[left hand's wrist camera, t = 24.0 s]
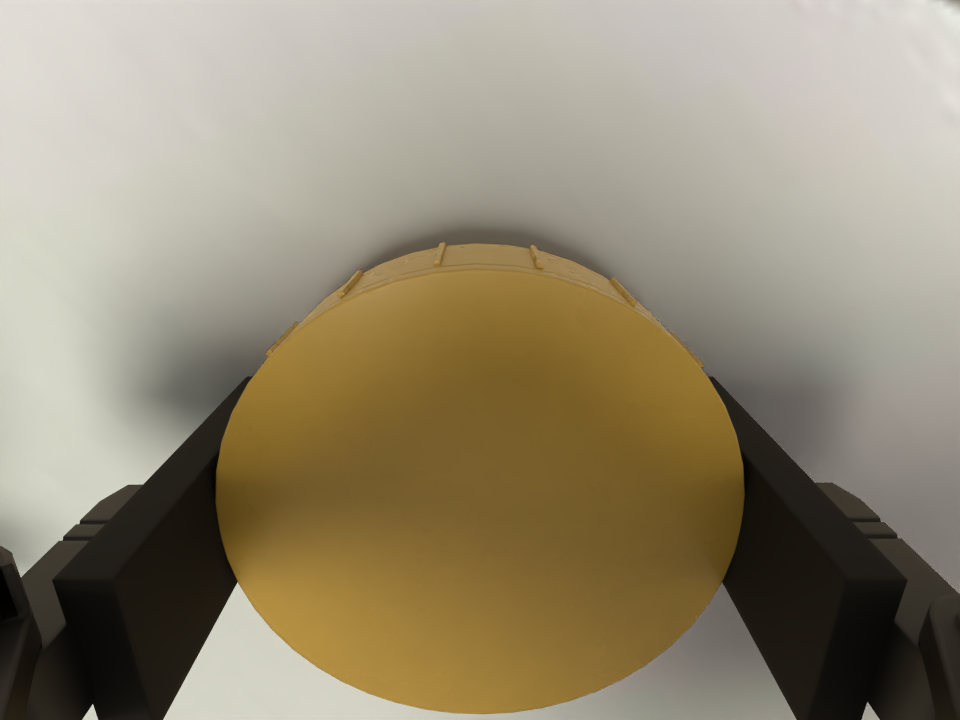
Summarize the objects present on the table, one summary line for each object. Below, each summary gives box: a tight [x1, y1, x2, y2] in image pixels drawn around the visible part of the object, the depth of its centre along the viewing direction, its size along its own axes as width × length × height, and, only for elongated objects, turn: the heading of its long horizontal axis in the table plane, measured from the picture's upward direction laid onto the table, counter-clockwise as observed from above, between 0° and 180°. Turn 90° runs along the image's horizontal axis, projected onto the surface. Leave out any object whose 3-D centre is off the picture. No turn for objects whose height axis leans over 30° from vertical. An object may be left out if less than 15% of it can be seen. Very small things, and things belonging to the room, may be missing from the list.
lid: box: [215, 242, 745, 714], centre depth 11 cm, size 9×9×2 cm
